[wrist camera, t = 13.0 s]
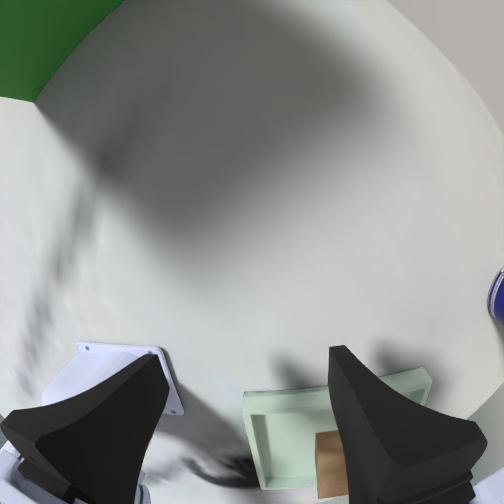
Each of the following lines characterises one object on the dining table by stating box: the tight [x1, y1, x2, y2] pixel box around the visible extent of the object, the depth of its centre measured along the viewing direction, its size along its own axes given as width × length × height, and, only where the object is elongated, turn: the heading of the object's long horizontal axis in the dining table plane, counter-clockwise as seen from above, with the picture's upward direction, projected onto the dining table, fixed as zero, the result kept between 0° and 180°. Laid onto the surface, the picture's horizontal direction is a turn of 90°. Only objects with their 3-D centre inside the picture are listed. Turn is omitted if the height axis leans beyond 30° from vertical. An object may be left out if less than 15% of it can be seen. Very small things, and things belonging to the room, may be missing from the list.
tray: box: [242, 367, 433, 490], centre depth 21 cm, size 16×16×2 cm
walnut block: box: [314, 430, 349, 499], centre depth 19 cm, size 4×4×6 cm
